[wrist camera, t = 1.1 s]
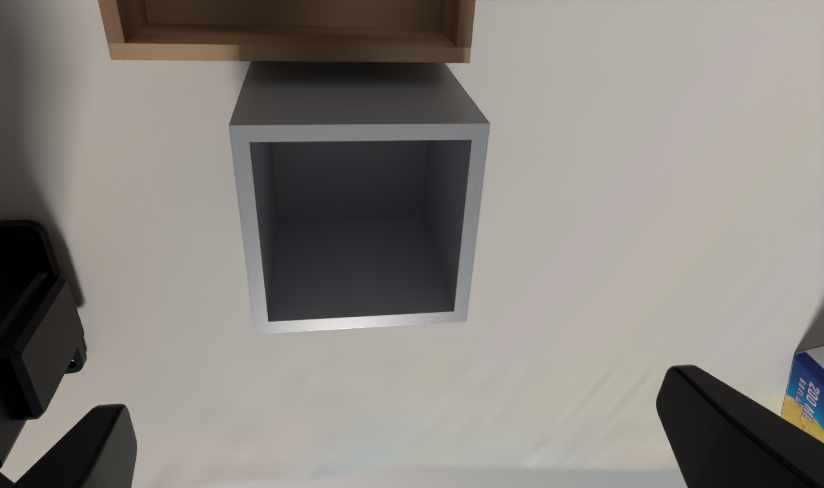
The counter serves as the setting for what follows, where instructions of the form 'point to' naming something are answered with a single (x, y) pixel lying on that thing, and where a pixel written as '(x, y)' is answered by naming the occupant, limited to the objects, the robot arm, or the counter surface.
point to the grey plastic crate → (357, 193)
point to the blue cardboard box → (806, 393)
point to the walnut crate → (290, 30)
